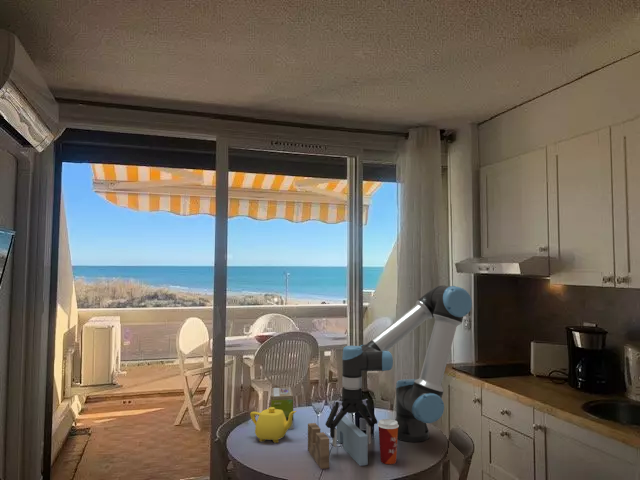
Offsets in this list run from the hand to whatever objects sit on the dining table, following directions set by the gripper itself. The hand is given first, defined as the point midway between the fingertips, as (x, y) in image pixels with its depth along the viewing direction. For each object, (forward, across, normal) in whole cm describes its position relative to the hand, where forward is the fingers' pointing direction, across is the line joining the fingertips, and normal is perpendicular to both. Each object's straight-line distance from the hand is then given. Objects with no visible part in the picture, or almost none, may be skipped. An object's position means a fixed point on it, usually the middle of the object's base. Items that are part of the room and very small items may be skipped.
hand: (351, 444), depth 179 cm
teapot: (+4, +26, -23) cm, 35 cm away
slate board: (+3, 0, -1) cm, 3 cm away
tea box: (+4, +19, -40) cm, 44 cm away
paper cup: (+3, -10, +11) cm, 15 cm away
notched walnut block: (+3, +14, +2) cm, 14 cm away
